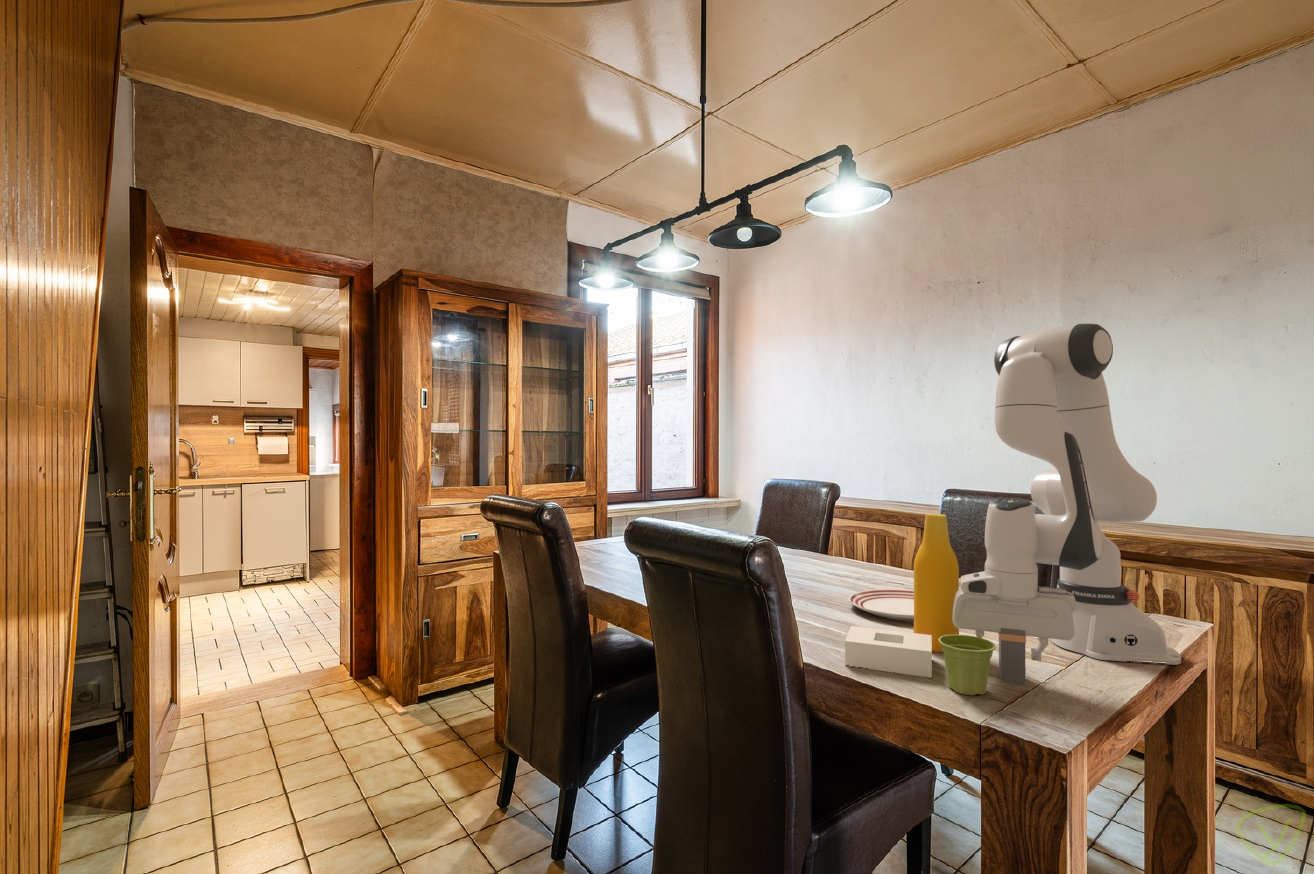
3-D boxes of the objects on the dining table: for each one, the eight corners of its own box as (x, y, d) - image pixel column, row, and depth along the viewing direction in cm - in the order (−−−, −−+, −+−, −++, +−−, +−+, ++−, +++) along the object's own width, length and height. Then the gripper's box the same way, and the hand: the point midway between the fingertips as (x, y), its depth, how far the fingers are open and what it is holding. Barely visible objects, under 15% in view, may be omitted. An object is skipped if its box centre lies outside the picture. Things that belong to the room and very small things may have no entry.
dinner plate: (848, 622, 156) (848, 608, 156) (848, 595, 182) (848, 584, 182) (968, 631, 148) (968, 617, 148) (950, 603, 174) (950, 591, 174)
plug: (1023, 676, 120) (1022, 624, 120) (1026, 684, 116) (1026, 630, 116) (998, 673, 121) (998, 622, 121) (1000, 681, 117) (1000, 628, 117)
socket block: (931, 659, 129) (931, 635, 129) (931, 677, 119) (931, 651, 119) (851, 648, 135) (851, 625, 136) (845, 665, 125) (845, 640, 125)
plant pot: (934, 692, 112) (934, 644, 112) (943, 675, 120) (943, 631, 120) (992, 704, 107) (992, 654, 107) (998, 686, 115) (998, 639, 115)
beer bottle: (921, 636, 144) (921, 511, 144) (964, 645, 138) (964, 514, 138) (907, 646, 137) (907, 515, 137) (952, 656, 131) (952, 518, 131)
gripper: (1071, 585, 117) (1071, 659, 117) (951, 575, 126) (952, 644, 125) (1079, 593, 112) (1079, 670, 111) (952, 582, 120) (953, 654, 120)
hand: (1010, 656), depth 119 cm, fingers open, 7 cm apart
